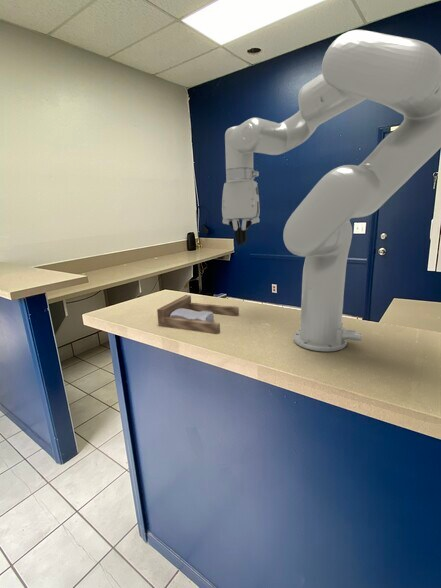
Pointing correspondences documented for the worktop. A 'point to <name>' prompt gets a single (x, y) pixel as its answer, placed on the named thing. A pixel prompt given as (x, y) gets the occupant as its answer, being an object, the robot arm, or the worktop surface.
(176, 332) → the worktop surface
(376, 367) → the worktop surface
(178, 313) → the stone block
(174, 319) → the brown u-shaped frame
